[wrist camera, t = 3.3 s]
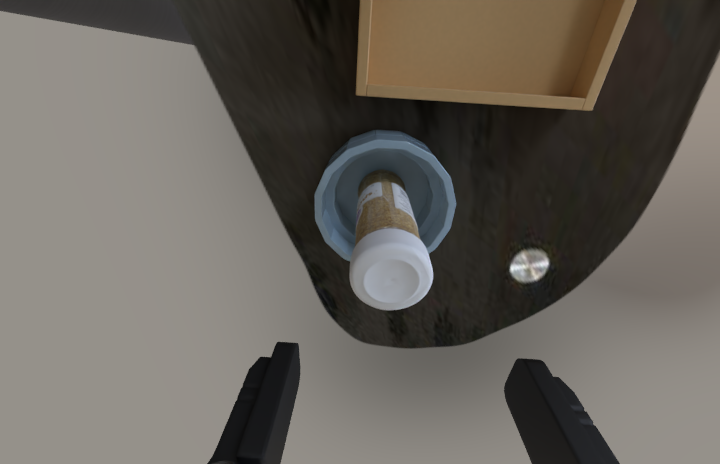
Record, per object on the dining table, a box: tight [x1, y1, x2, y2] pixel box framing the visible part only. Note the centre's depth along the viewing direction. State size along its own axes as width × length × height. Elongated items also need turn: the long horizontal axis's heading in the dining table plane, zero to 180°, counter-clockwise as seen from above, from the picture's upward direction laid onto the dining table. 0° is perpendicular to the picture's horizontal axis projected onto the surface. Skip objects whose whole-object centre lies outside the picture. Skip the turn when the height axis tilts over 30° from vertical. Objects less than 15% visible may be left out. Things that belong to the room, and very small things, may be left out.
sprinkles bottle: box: [349, 169, 433, 310], centre depth 21 cm, size 5×5×13 cm
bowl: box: [314, 130, 456, 261], centre depth 25 cm, size 11×11×5 cm
